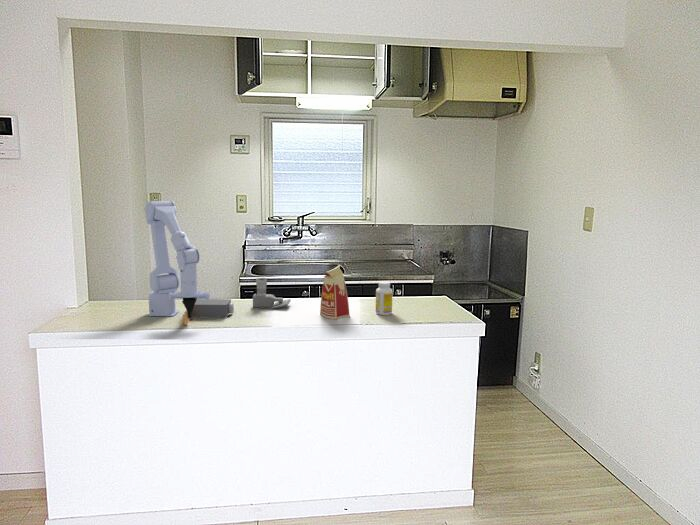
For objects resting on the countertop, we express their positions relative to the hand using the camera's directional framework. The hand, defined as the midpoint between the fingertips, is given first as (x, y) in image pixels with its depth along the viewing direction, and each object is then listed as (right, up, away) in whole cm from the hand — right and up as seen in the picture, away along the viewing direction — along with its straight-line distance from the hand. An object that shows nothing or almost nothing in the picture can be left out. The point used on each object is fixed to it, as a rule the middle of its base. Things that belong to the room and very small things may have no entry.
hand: (190, 317), depth 195 cm
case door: (-2, -2, +4) cm, 4 cm away
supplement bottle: (+72, -1, +20) cm, 75 cm away
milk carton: (+53, -1, +15) cm, 55 cm away
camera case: (+4, 0, +14) cm, 15 cm away
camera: (+26, +1, +27) cm, 37 cm away
